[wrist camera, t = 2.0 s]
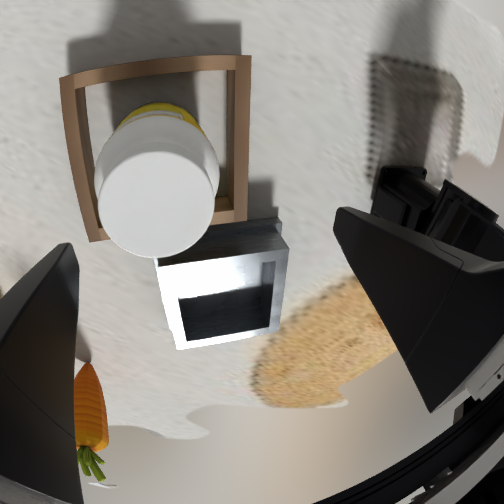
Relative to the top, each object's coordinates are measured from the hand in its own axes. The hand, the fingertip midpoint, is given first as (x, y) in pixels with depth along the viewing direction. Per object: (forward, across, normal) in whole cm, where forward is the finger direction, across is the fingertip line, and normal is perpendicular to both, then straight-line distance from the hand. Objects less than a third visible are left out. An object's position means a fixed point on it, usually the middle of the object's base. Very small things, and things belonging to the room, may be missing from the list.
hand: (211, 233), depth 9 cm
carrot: (+14, +14, +24) cm, 31 cm away
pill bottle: (+14, +1, 0) cm, 14 cm away
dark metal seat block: (+13, -3, +13) cm, 19 cm away
